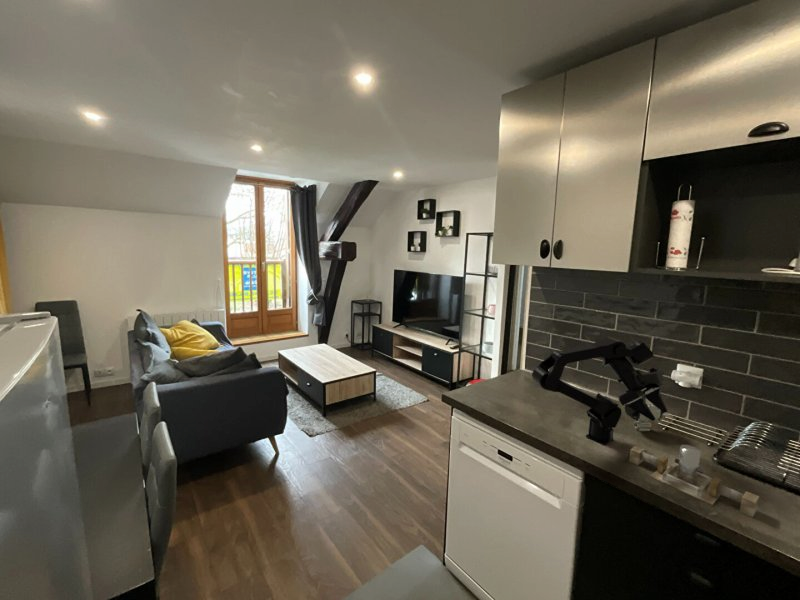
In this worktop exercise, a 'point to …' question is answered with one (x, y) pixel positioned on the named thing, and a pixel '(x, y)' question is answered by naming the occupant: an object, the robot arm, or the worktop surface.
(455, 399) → the worktop surface
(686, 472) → the ujoint coupling
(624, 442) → the worktop surface
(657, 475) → the shaft rig
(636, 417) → the pneumatic valve
